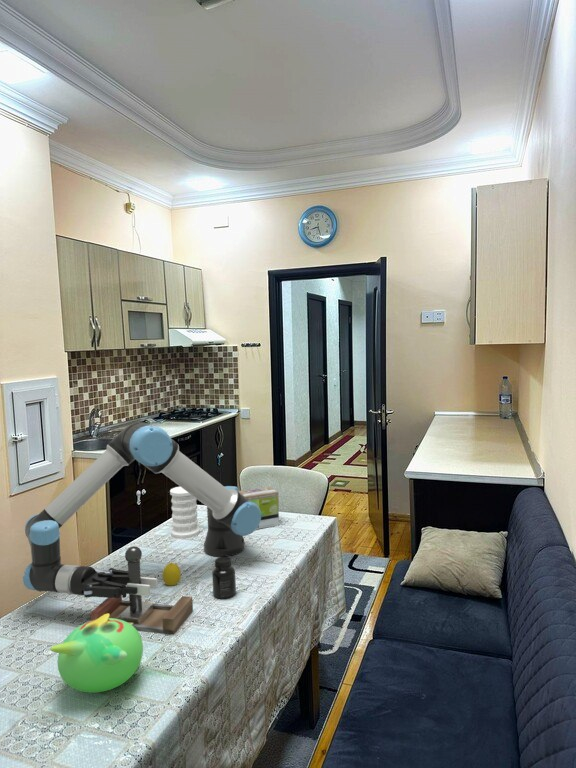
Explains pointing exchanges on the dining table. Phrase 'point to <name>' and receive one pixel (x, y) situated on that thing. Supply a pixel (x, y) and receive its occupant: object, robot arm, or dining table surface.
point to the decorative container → (184, 514)
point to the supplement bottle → (224, 579)
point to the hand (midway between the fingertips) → (153, 587)
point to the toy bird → (99, 654)
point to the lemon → (171, 574)
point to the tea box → (264, 505)
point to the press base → (158, 621)
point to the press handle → (136, 609)
